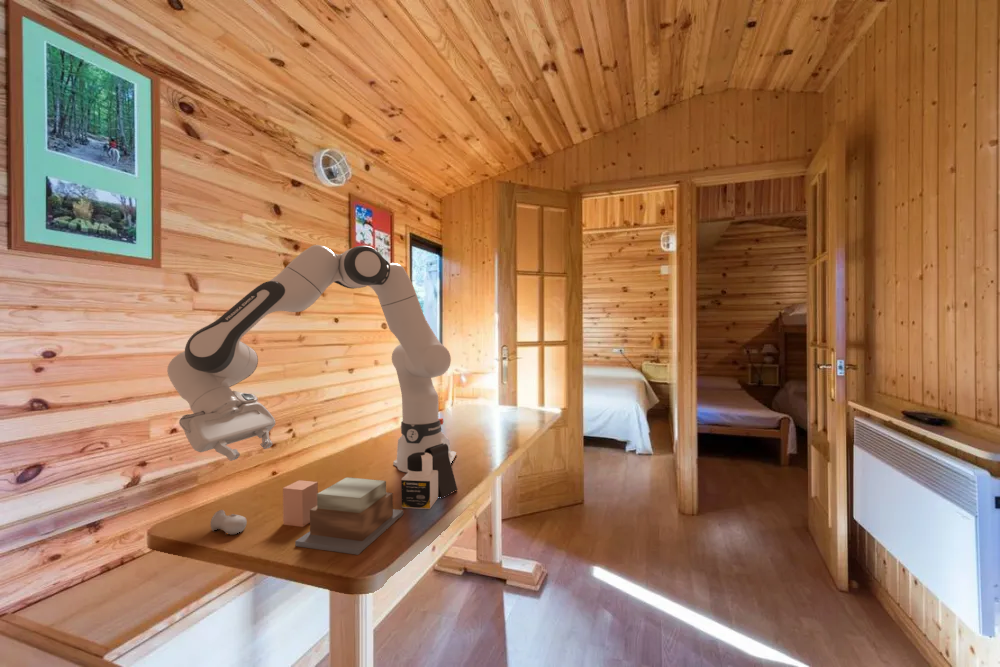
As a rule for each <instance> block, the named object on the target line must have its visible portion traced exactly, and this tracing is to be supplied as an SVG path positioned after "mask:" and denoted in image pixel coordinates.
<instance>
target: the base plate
mask: <svg viewBox="0 0 1000 667" xmlns="http://www.w3.org/2000/svg"><path fill="white" fill-rule="evenodd" d="M403 515H404V510H403V509H396V508H393V516H391V517H390V518H389V519H388V520H387V521H386V522H384V523H383V524H382V525H381V526H380V527H379V528H377V529H376V530H375V531H374V532H373V533H371V534H370V535H369V536H368V537H367V538H366V539H364V540H363V541H357V540H349V539H341V538H334V537H326V536H318V535H311V534H310V531H308V532H306V533H305V534H304V535H302V536H300V537H299V538H298V539H296V540H295V547H299V548H306V549H307V548H308V549H314V550H323V551H329V552H336V553H344V554H350V555H360V554H361V553H362V552H363V551H365V549H366V548H368V547H369V546H370V545H371V544H372V543H373V542H374V541H375V540H377V539H378V538H379V537H380V536H381V535H382V534H383V533H384V532H385V531H387V530H388V529H389V528H390V527H391V526H392V525H393V524H394V523H396V522H397V521H398V520H399V519H400V518H401V517H403ZM398 518H399V519H398ZM397 519H398V520H397ZM396 520H397V521H396ZM395 521H396V522H395ZM386 529H387V530H386Z"/></svg>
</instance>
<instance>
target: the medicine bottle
mask: <svg viewBox="0 0 1000 667" xmlns="http://www.w3.org/2000/svg"><path fill="white" fill-rule="evenodd" d="M407 469H408V472H406V474H404V476H403V477H401V480H400V481H401V482H400V484H401V485H400V488H401V489H400V490H401V508H402V509H417V510H418V509H419V510H431V508H432V507H433V506H434V504H435V503H436V501H437V500H438V499H439V498H438V471H437V470H433V463H432V455H431V454H429V453H426V452H418V453H413V454H411V455H409V456H408V458H407Z"/></svg>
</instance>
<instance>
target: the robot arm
mask: <svg viewBox="0 0 1000 667" xmlns="http://www.w3.org/2000/svg"><path fill="white" fill-rule="evenodd" d="M332 284H337V285H340V286H342V287H344V288H345V289H346V288H347V289H351V290H353V289H361V288H367V287H370V288H371V289H372V290H373V291H374V292H375V294H376V296H377V298H378V302H379V304H380V308H381V311H382V313H383V315H384V318H385V321H386V322H387V323H386V324H387V326H388V329H389V331H390V333H391V334H393V335H394V336H395V338H396V339H397V340H398V342H399V344H398V345H397V346H396V347H395V348H394V349H393V352H392V353H391V362H392V364H393V367H394V368H395V371H396V374H397V378H398V384H399V387H400V392H401V401H402V403H401V405H402V407H401V408H402V411H401V412H402V421H401V424H400V433H401V436H400V437H399V438H398V439H397V448H396V459H395V460H393V466H395V467H397V470H398V471H400V472H403V473H408V469H407V458H408V456H409V455H411V454H413V453H418V452H425V449H427V448H430V447H433V446H436V445H439V444H442V443H443V444H447V446H448V448H449V451H448V455H449V459H450V463H452V461H453V459H454V457H455V455H456V453H457V451H454V450H451V446H450V439H449V437H447V436H446V434H445V433H443V432H442V430H443V429H442V426H443V425H444V418H440V417H439V394H438V392H437V390H436V389H435V387H434V384H433V380H432V379H433V378H437V377H439V376H440V377H441V376H442V375H444V374H446V373H447V371H448V370H449V369H450V366H451V361H452V359H451V354H450V352H449V350H448V348H447V347H446V346H444V345H443V343H441V341H439V339H438V337H437V336H436V334H435V332H434V331H433V329H432V328H431V326H430V325H429V323H428V321H427V319H426V316H425V314H424V312H423V309H422V306H421V304H420V300H419V299H418V295H417V292H416V290H415V287H414V284H413V282H412V280H411V278H410V277H409V274H408V273H407V272H406V270H405V268H404V266H403V265H401V264H400V263H394V262H391V263H390V262H388V260H387V259H385V257H383V255H382V254H381V253H380V252H379V251H378V250H377V249H376V248H373V247H372V246H368V245H358V246H354V247H352V248H349V249H347V250H345V251H344V252H342V253H340V254H337V253H335V252H333V251H332V249H329V247H326V246H324V245H320V244H314V245H311V246H309V247H308V248H306V249H305V250H303V251H302V252H300V253H299V254H298V255H296V257H295V258H293V259H292V260H291V261H290V262H289V263H288V264H287V265H286V267H284V268H283V269H282V270H281V271H280V272H279V273H277V275H276V276H274V277H273V278H271V279H270V280H268V281H265V282H263V283H261V284H259V285H258V286H256V287H255V288H253V290H251V291H250V292H248V293H247V294H246V295H245V296H244V297H242V298H241V299H240V300H239V301H238V302H236V303H235V305H233V306H232V307H230V308H229V309H228V310H227V311H226V312H224V313H223V314H222V315H221V316H220V317H219V318H218V319H217V318H216V320H215V321H213V322H211V323H210V324H208V325H205V326H204V327H201V328H200V329H198V330H196V331H195V332H193V334H191V336H190V337H189V338H188V340H187V342H186V344H185V347H184V351H183V352H180V353H179V354H177V355H175V356H174V357H173V358H172V359H171V361H169V363H168V366H167V376H168V379H169V381H170V382H171V384H172V386H173V388H174V389H175V390H176V391H177V393H178V394H179V396H180V397H181V398H182V399H183V400H185V401H186V402H187V403H188V404H189V408H190V410H191V411H192V413H191V414H190V413H189V414H184V415H182V417H181V418H179V422H178V424H179V427H181V429H182V430H183V431H184V434H185V436H186V439H187V440H188V442H189V444H190V446H191V447H192V449H193V450H194V451H196V452H198V453H204V452H207V451H210V450H211V451H212V450H215V452H216V453H218V454H220V455H222V456H225V457H227V459H228V460H229V462H232V461H235V460H237V459H238V458H239V457H240V456H241V454H240V452H239V451H238V449H237V448H234V449H233V448H231V447H230V446H228V445H231V444H235V443H237V442H240V441H241V442H242V441H243V440H248V439H251V438H254V437H257V438H258V439H261V441H262V442H261V443H260V446H261V447H262V449H264V450H266V449H270V448H271V447H272V446H273V441H272V440H271V439H270V433H269V432H271V430H272V429H274V427H275V425H276V420H275V417H274V416H273V415H272V413H271V412H270V411H269V410H268V409H267V407H266V406H265V405H263V403H260V402H258V399H259V398H258V396H257V395H256V394H254V393H247V392H241V391H236V390H232V389H231V388H230V387H233V386H235V385H237V384H239V383H240V382H242V381H244V380H246V379H247V378H249V377H250V376H252V374H254V372H255V371H256V369H257V367H258V365H259V358H258V354H257V352H256V351H255V350H254V348H252V347H250V346H249V345H248V344H246V343H244V342H243V341H241V339H242V338H243V337H244V336H245V335H246V334H247V333H248V332H250V331H251V330H252V328H254V327H255V326H256V325H258V323H259V322H260V321H261V320H262V319H264V318H265V317H266V316H268V315H270V314H272V313H275V312H287V313H288V312H289V313H299V312H304V311H305V310H307V309H308V308H310V307H312V305H313V304H314V303H316V301H317V300H319V298H320V297H321V296H322V295H323V293H324V292H325V291H326V290H327V288H328V287H330V286H331V285H332ZM453 462H454V461H453ZM452 464H453V463H452Z"/></svg>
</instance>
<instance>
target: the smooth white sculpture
mask: <svg viewBox="0 0 1000 667" xmlns="http://www.w3.org/2000/svg"><path fill="white" fill-rule="evenodd" d="M211 517H212V518H211V520H210V528H211V531H212V532H215V531H214V530H217V529H218V530H222V531H224V532H225V534H226V533H228V534H230V535H237V533H238V534H240V533H242V532H243V531H244V530H245V529H246V527H247V522H248V520H247V517H245V516H243V515H241V514H234V513H231V514H230V515H226V511H225V510H224V509H220V510H219V509H218V510H217V511H216V512H215V513H214V514H213V516H211ZM218 530H217V531H218ZM239 532H240V533H239Z"/></svg>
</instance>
